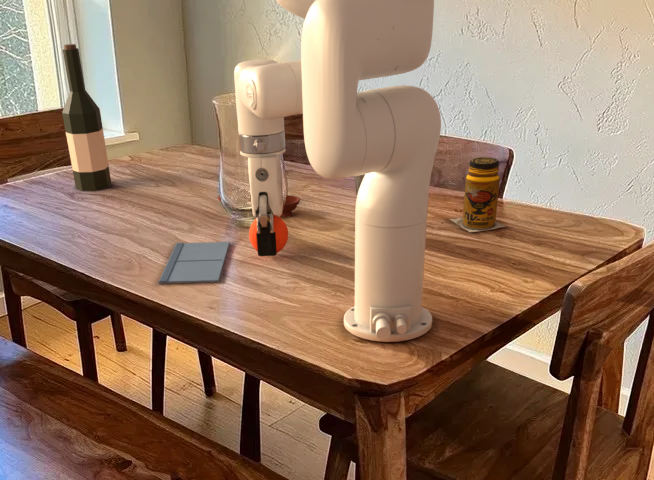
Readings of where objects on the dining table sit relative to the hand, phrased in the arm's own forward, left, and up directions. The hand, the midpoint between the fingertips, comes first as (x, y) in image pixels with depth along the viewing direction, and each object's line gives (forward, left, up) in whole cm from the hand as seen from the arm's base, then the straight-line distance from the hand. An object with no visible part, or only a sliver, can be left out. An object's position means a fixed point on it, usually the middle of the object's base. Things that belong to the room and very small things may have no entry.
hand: (268, 246), depth 138 cm
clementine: (0, 0, -2) cm, 2 cm away
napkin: (-2, +13, -2) cm, 13 cm away
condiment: (+15, -39, -2) cm, 41 cm away
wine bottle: (+51, +44, -2) cm, 68 cm away
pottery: (+28, +3, -2) cm, 29 cm away
